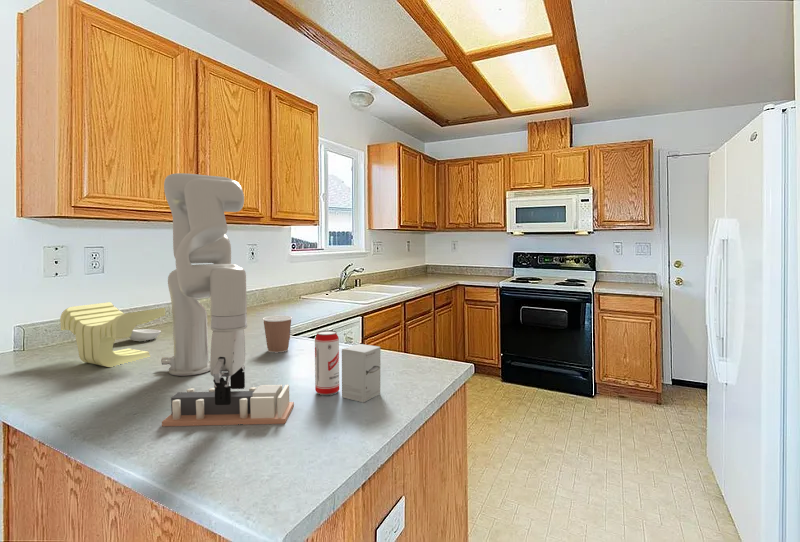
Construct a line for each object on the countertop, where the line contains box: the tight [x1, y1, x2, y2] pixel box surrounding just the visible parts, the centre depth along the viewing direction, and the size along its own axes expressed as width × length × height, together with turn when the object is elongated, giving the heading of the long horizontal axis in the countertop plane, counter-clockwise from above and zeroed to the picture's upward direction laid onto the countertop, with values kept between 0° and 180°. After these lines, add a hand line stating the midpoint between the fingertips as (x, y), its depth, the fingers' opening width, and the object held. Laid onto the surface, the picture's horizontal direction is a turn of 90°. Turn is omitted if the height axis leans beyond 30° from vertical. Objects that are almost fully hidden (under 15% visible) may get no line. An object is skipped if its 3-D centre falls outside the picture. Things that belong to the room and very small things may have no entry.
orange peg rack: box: [161, 384, 295, 427], centre depth 97 cm, size 26×10×6 cm, turn 93°
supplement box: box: [341, 343, 382, 404], centre depth 109 cm, size 7×7×13 cm
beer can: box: [314, 329, 340, 396], centre depth 112 cm, size 6×6×16 cm
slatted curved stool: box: [59, 301, 166, 368], centre depth 141 cm, size 30×16×18 cm, turn 64°
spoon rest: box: [128, 328, 162, 342], centre depth 168 cm, size 24×12×7 cm, turn 147°
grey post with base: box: [170, 384, 282, 415], centre depth 97 cm, size 23×5×5 cm, turn 93°
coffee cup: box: [262, 315, 293, 354], centre depth 155 cm, size 10×10×12 cm
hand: (230, 396), depth 97 cm, fingers open, 9 cm apart
